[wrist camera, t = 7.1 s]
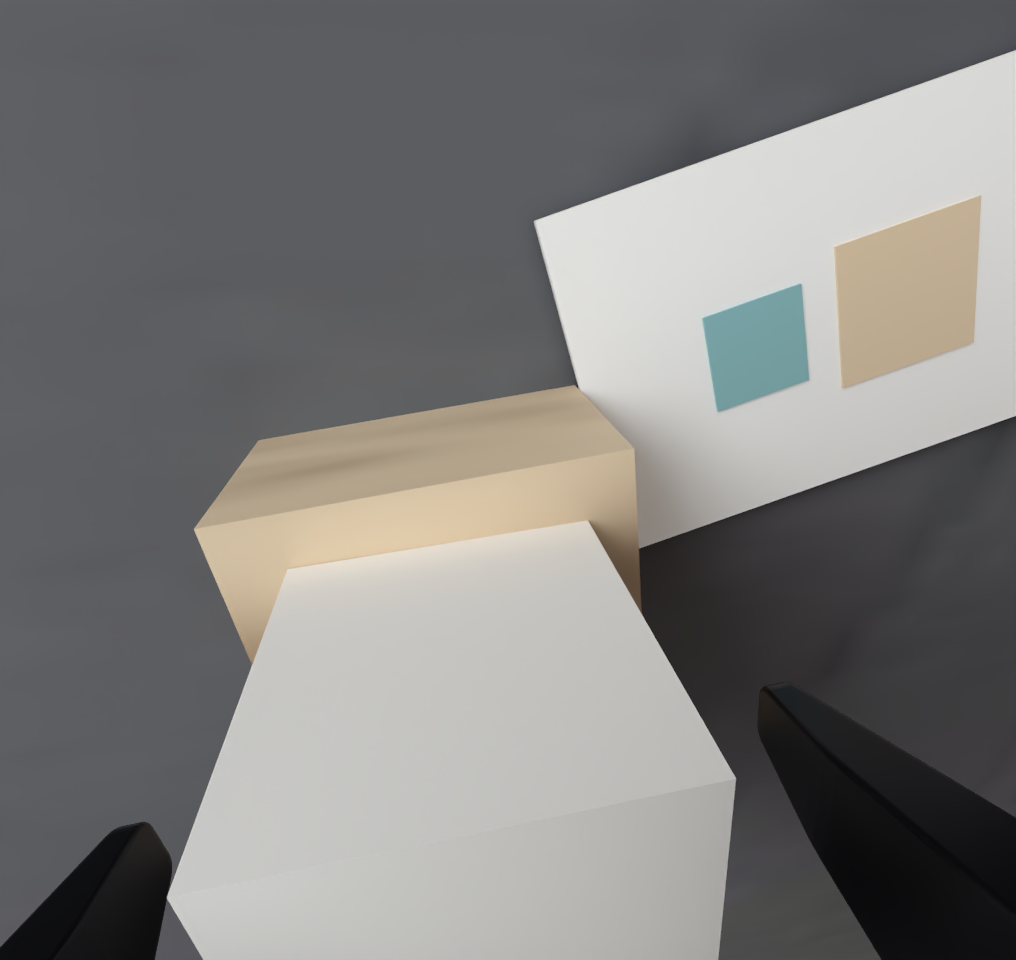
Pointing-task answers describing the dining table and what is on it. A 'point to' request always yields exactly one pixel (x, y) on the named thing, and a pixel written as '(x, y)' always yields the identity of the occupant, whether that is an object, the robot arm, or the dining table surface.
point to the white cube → (461, 770)
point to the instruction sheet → (801, 299)
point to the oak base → (419, 492)
